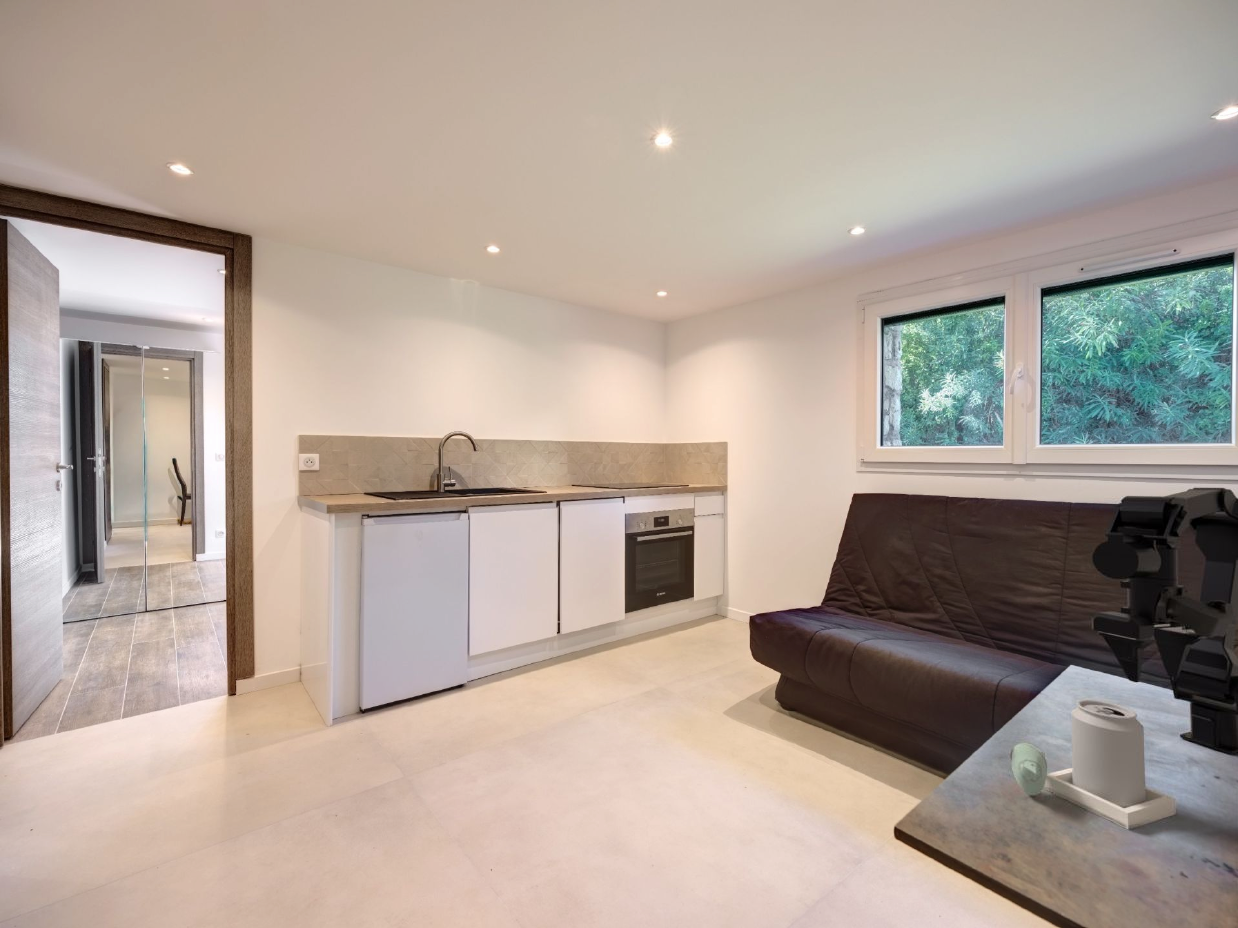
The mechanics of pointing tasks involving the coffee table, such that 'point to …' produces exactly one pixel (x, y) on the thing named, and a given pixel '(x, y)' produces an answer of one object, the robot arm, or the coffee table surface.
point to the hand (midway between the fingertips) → (1153, 679)
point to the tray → (1124, 817)
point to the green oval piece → (1029, 767)
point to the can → (1108, 752)
